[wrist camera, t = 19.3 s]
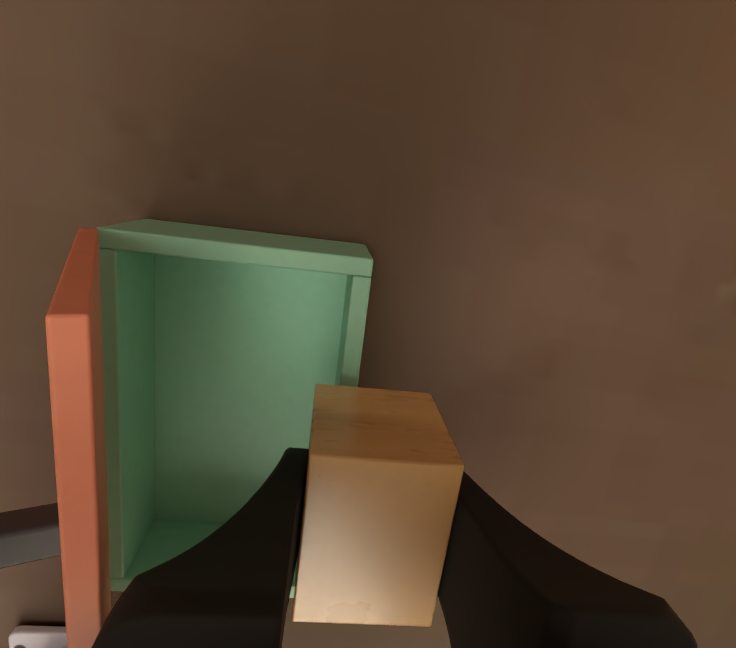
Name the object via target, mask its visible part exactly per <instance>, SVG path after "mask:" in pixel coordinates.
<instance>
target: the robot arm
mask: <svg viewBox="0 0 736 648" xmlns="http://www.w3.org/2000/svg"><path fill="white" fill-rule="evenodd" d="M308 453H309V449H305V448H292V447H289V448H288V449H286V450H285V451H284V454H283V456H282V458H281V459H280V461H279V463H278V464H277V466H276V467H275V469H274V470H273V472H272V473H271V474H270V475H269V477H268V478H267V479H266V481H265V482H264V483H263V485H262V486H261V487H260V488H259V489H258V490H257V492H256V493H255V494H254V495H253V496H252V497H251V498H250V499H249V501H248V502H247V503H246V504H245V505H244V506H243V507H242V508H241V509H240V510H239V511H238V512H237V513H236V514H234V515H233V516H232V517H231V518H230V519H229V520H228V521H227V522H225V523H224V524H223V525H222V526H221V527H219V528H218V529H217V530H215V531H214V532H213V533H212V534H210V535H209V536H208V537H206V538H205V539H204V540H202V541H201V542H199V543H198V544H196V545H195V546H193V547H191V548H190V549H188V550H186V551H185V552H183V553H181V554H179V555H178V556H176V557H174V558H172V559H170V560H168V561H166V562H164V563H162V564H160V565H158V566H156V567H154V568H152V569H150V570H148V571H145V572H143V573H141V574H139V575H137V576H135V577H134V579H133V580H132V581H131V583H130V584H129V585H128V587H127V588H126V590H125V591H124V592H123V594H122V595H121V597H120V598H119V600H118V601H117V602H116V604H115V605H114V607H113V608H112V610H111V611H110V613H109V615H108V616H107V618H106V620H105V622H104V624H103V626H102V628H101V630H100V632H99V634H98V636H97V638H96V640H95V642H94V644H93V645H92V647H91V648H282V640H283V631H284V625H285V618H286V612H287V607H288V602H289V597H290V592H291V587H292V582H293V577H294V572H295V567H296V562H297V557H298V551H299V541H300V532H301V522H302V513H303V503H304V494H305V484H306V474H307V465H308ZM438 597H439V600H440V604H441V607H442V611H443V614H444V617H445V621H446V625H447V629H448V633H449V638H450V643H451V648H697V643H696V641H695V639H694V637H693V635H692V633H691V632H690V631H689V629H688V628H687V627H686V626H685V624H684V623H683V622H682V621H681V619H680V618H679V617H678V616H677V614H676V613H675V612H674V611H673V609H672V608H671V607H670V606H669V604H668V603H667V602H666V601H665V600H664V598H661V597H659V596H656V595H654V594H651V593H649V592H646V591H644V590H642V589H639V588H637V587H634V586H632V585H629V584H627V583H624V582H622V581H620V580H618V579H616V578H614V577H611V576H609V575H607V574H605V573H603V572H601V571H599V570H597V569H595V568H593V567H591V566H589V565H587V564H586V563H584V562H582V561H580V560H578V559H576V558H575V557H573V556H571V555H570V554H568V553H566V552H564V551H563V550H561V549H559V548H558V547H556V546H555V545H553V544H551V543H550V542H548V541H547V540H545V539H544V538H542V537H541V536H539V535H538V534H537V533H535V532H534V531H532V530H531V529H529V528H528V527H527V526H525V525H524V524H523V523H521V522H520V521H519V520H517V519H516V518H515V517H514V516H513V515H511V514H510V513H509V512H508V511H506V510H505V509H504V508H503V507H502V506H500V505H499V504H498V503H497V502H496V501H495V500H494V499H493V498H491V497H490V496H489V495H488V494H487V493H486V492H485V491H484V490H483V489H482V488H481V487H479V486H478V485H477V484H476V483H475V482H474V481H473V480H472V479H471V478H470V477H469V476H468V475H467V474H466V473H465V472H464V471H463V475H462V480H461V485H460V489H459V494H458V499H457V504H456V508H455V513H454V518H453V523H452V528H451V532H450V537H449V542H448V547H447V551H446V556H445V561H444V566H443V571H442V575H441V580H440V585H439V590H438ZM8 641H9V648H67V635H66V627H62V626H30V625H23V626H18V627H16V628H15V629H14V630H13V631H12V633H11V634H10V635H9V639H8Z"/></svg>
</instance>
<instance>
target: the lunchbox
mask: <svg viewBox="0 0 736 648" xmlns="http://www.w3.org/2000/svg"><path fill="white" fill-rule="evenodd" d="M95 229H98V231H99V254H100V284H101V314H102V345H103V375H104V405H105V435H106V465H107V495H108V526H109V556H110V586H111V591H125V590H126V588H127V587H128V585H129V584H130V583H131V581H132V580H133V579H134V577H135V576H137V575H139V574H141V573H143V572H145V571H148V570H150V569H152V568H154V567H156V566H158V565H160V564H162V563H164V562H166V561H168V560H170V559H172V558H174V557H176V556H178V555H179V554H181V553H183V552H185V551H186V550H188V549H190V548H191V547H193V546H195V545H196V544H198V543H199V542H201V541H202V540H204V539H205V538H206V537H208V536H209V535H210V534H212V533H213V532H214V531H215V530H217V529H218V528H219V527H221V526H222V525H223V524H224V523H225V522H227V521H228V520H229V519H230V518H231V517H232V516H233V515H234V514H236V513H237V512H238V511H239V510H240V509H241V508H242V507H243V506H244V505H245V504H246V503H247V502H248V501H249V499H250V498H251V497H252V496H253V495H254V494H255V493H256V492H257V490H258V489H259V488H260V487H261V486H262V485H263V483H264V482H265V481H266V479H267V478H268V477H269V475H270V474H271V473H272V472H273V470H274V469H275V467H276V466H277V464H278V463H279V461H280V459H281V458H282V456H283V454H284V451H285V450H286V449H288V448H289V447H292V448H305V449H309V439H310V430H311V420H312V411H313V401H314V391H315V385H316V384H317V383H318V384H329V385H341V386H352V387H358V379H359V371H360V363H361V356H362V348H363V340H364V332H365V324H366V316H367V308H368V301H369V293H370V285H371V278H370V277H371V276H372V269H373V258H372V256H371V255H370V253H369V251H368V249H367V247H366V245H365V244H358V243H350V242H341V241H333V240H324V239H315V238H307V237H298V236H290V235H281V234H273V233H264V232H256V231H247V230H238V229H230V228H221V227H213V226H204V225H196V224H187V223H178V222H170V221H161V220H153V219H141V220H135V221H130V222H124V223H118V224H113V225H107V226H102V227H97V228H95ZM297 558H298V557H297ZM296 568H297V562H296V567H295V572H294V577H293V582H292V587H291V592H290V597H289V598H294V589H295V579H296Z"/></svg>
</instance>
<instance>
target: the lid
mask: <svg viewBox="0 0 736 648" xmlns="http://www.w3.org/2000/svg"><path fill="white" fill-rule="evenodd" d="M45 323H46V338H47V353H48V368H49V383H50V397H51V412H52V427H53V442H54V457H55V472H56V486H57V501H58V503H54V504H48V505H42V506H37V507H31V508H25V509H19V510H14V511H8V512H2V513H0V568H5V567H9V566H14V565H18V564H23V563H27V562H32V561H36V560H41V559H46V558H50V557H55V556H59V555H61V561H62V576H63V590H64V605H65V620H66V635H67V648H91V647H92V645H93V644H94V642H95V640H96V638H97V636H98V634H99V632H100V630H101V628H102V626H103V624H104V622H105V620H106V618H107V616H108V615H109V613H110V611H111V586H110V556H109V526H108V495H107V465H106V435H105V405H104V375H103V345H102V314H101V284H100V254H99V231H98V229H92V228H79V229H78V232H77V234H76V237H75V240H74V242H73V245H72V248H71V250H70V253H69V256H68V258H67V261H66V264H65V266H64V269H63V272H62V274H61V277H60V280H59V282H58V285H57V288H56V290H55V293H54V296H53V298H52V301H51V304H50V306H49V309H48V312H47V314H46V317H45Z"/></svg>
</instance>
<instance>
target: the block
mask: <svg viewBox="0 0 736 648" xmlns="http://www.w3.org/2000/svg"><path fill="white" fill-rule="evenodd" d="M463 470H464V464H463V462H462V460H461V458H460V456H459V454H458V451H457V449H456V447H455V445H454V443H453V441H452V439H451V437H450V434H449V432H448V430H447V428H446V426H445V424H444V422H443V419H442V417H441V415H440V413H439V411H438V409H437V407H436V405H435V402H434V400H433V398H432V396H431V394H430V393H420V392H408V391H397V390H386V389H374V388H363V387H352V386H341V385H329V384H318V383H317V384H316V385H315V391H314V401H313V411H312V420H311V430H310V439H309V453H308V465H307V474H306V484H305V494H304V503H303V513H302V522H301V532H300V541H299V551H298V558H297V568H296V579H295V589H294V600H293V610H292V621H293V622H316V623H344V624H372V625H400V626H428V627H429V626H431V623H432V618H433V614H434V609H435V604H436V599H437V594H438V590H439V585H440V580H441V575H442V571H443V566H444V561H445V556H446V551H447V547H448V542H449V537H450V532H451V528H452V523H453V518H454V513H455V508H456V504H457V499H458V494H459V489H460V485H461V480H462V475H463Z"/></svg>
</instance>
